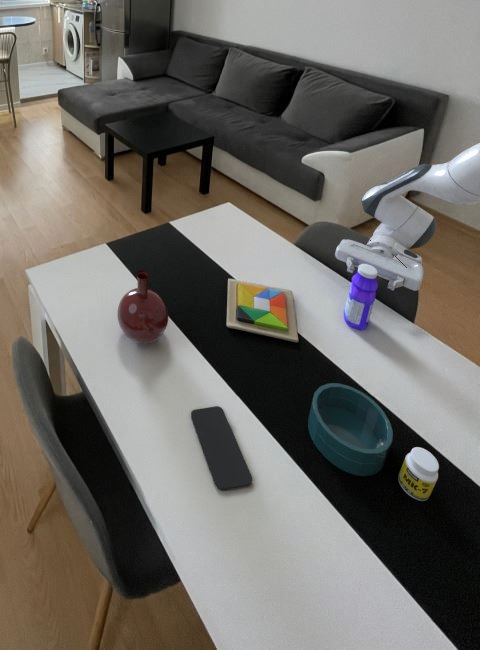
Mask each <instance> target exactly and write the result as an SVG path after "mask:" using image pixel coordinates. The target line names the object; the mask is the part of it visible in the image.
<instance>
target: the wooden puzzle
mask: <svg viewBox="0 0 480 650" xmlns="http://www.w3.org/2000/svg"><path fill="white" fill-rule="evenodd" d="M226 299H227V300H226V301H227V303H226V327H227V328H228V329H233V330H238V331H243V332H247V333H251V334H257V335H261V336H265V337H270V338H274V339H279V340H283V341H288V342H292V343H299V335H298V327H297V320H296V319H297V318H296V311H295V304H294V303H295V302H294V296H293V291H292V290H291V289H289V288H283V287H277V286H272V285H266V284H260V283H256V282H250V281H244V280H241V279H235V278H228V279H227V298H226Z"/></svg>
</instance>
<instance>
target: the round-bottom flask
mask: <svg viewBox="0 0 480 650" xmlns="http://www.w3.org/2000/svg"><path fill="white" fill-rule="evenodd" d="M149 277H150V273H149V272H148V271H147V270H142V269H141V270H138V271H137V272H136V279H137V281H136V282H137V283H136V284H137V287H135V288H132V289H130V290H129V291H127V292H126V293H125V294H123V296H122V297H121V299H120V300H119V303H118V306H117V312H116V313H117V321H118V324H119V327H120V329H121V331H122V332H123V334H124V335H125V336H126V337H127V338H129V339H130V340H131V341H133V342H136V343H138V344H150V343H154V342H155V341H157V340H159V339H160V338H162V337H161V336H163V335H164V333H165V331H166V330H167V326H168V324H169V311H168V307H167V305H166V302H165V301H164V299H163V298H162V297H161V296H160V294H159V293H157V292H156V291H154V290H152V289H150V288H149Z"/></svg>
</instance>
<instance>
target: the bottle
mask: <svg viewBox="0 0 480 650" xmlns="http://www.w3.org/2000/svg"><path fill="white" fill-rule="evenodd" d="M377 273H378V272H377V270H376V269H375V268H374V267H373V266H371V265H368V264H361V265H359V267H357V271H356V273H355V274H354V275H353V276H352V277H351V282H350V284H349V291H348V295H347V299H346V303H345V306H344V309H343V319H344V322H345V323H346V325H347V326H348V327H351V328H354V329H356V330H362V331H363V330H365V329H367V328H368V326H369V324H370V318H371V315H372V311H373V307H374V303H375V300H376V295H377V292H376V291H377V290H378V289H379V284H378V282H377V277H378V276H377Z"/></svg>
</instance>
